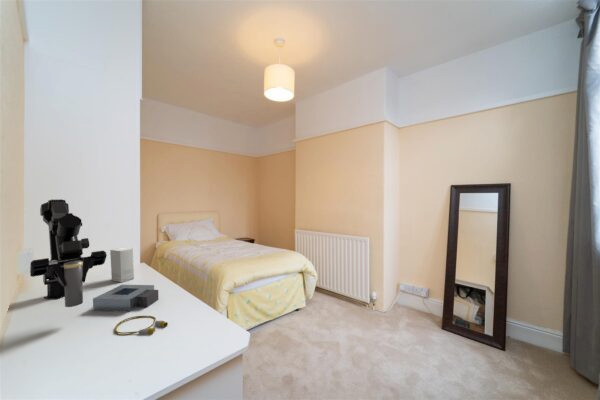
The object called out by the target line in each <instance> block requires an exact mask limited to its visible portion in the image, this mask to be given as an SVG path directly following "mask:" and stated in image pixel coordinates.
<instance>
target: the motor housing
mask: <svg viewBox="0 0 600 400" xmlns="http://www.w3.org/2000/svg"><path fill="white" fill-rule="evenodd" d="M157 301H159V289H155V285H154V284H120V285H118V286H115V287H114V288H112V289H110V290H108V291H106V292H104V293H102V294H99V295H97V296H95V297H93V298H92V309H93V312H130V313H131V311H133V310H135V309H136V308H148V307H150V306H151V305H153V304H154V303H156V302H157Z"/></svg>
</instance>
